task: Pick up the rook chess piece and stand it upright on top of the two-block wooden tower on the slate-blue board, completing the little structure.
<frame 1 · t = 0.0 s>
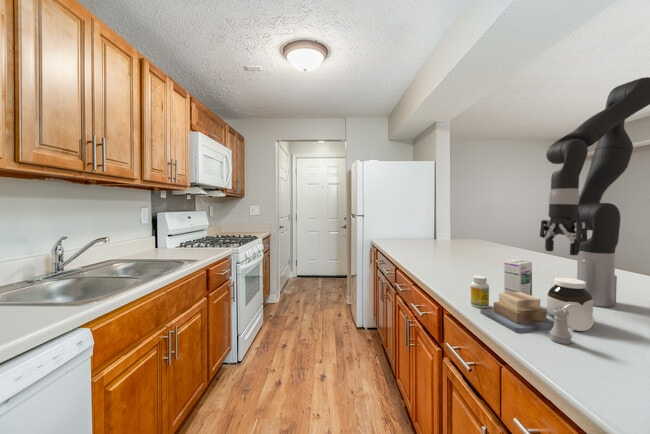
hand: (561, 253, 97), 17 cm above the countertop, tool pointing down, fingers open, 8 cm apart
syrup box: (517, 305, 99), on the countertop
spread jar: (572, 324, 83), on the countertop
supplement bottle: (479, 306, 98), on the countertop
rook chess piece: (560, 341, 73), on the countertop
block tower: (518, 320, 86), on the countertop
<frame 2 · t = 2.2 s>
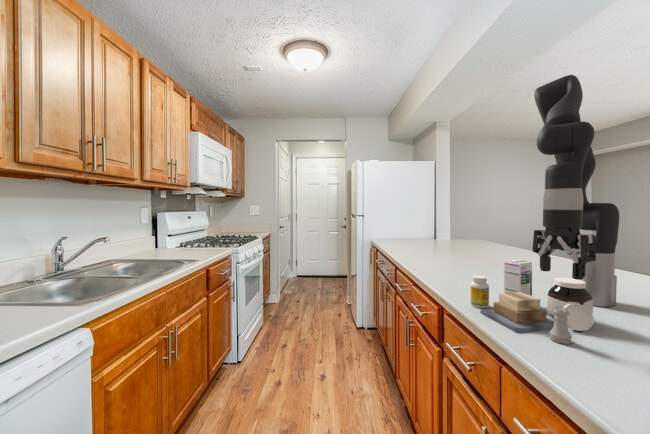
hand: (560, 274, 72), 16 cm above the countertop, tool pointing down, fingers open, 8 cm apart
nothing on the countertop moved.
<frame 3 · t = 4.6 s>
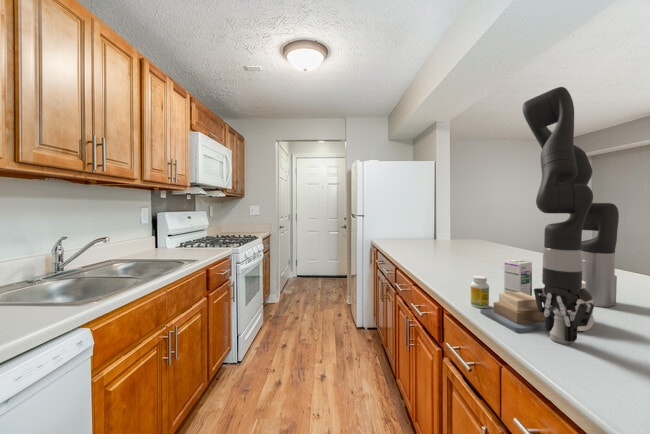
hand: (560, 336, 73), 1 cm above the countertop, tool pointing down, fingers closed on rook chess piece, 4 cm apart
rook chess piece: (560, 341, 73), on the countertop, touching gripper
everything else where it was.
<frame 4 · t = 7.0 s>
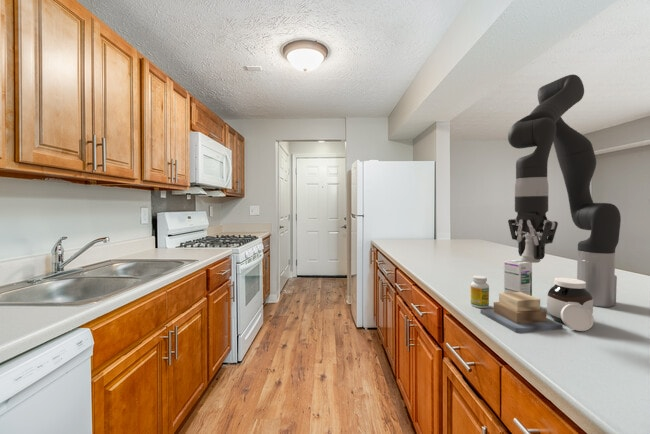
hand: (530, 257, 82), 19 cm above the countertop, tool pointing down, fingers closed on rook chess piece, 4 cm apart
rook chess piece: (530, 262, 82), point 17 cm above the countertop, touching gripper
everything else where it was.
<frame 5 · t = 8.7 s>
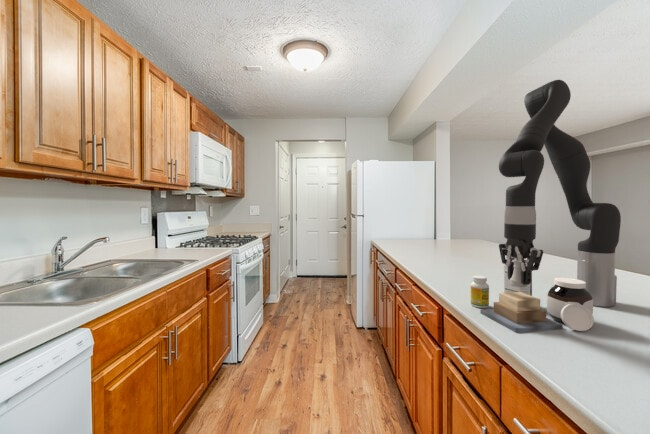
hand: (518, 281, 85), 11 cm above the countertop, tool pointing down, fingers closed on rook chess piece, 4 cm apart
rook chess piece: (518, 286, 85), point 10 cm above the countertop, touching gripper
everything else where it was.
when the fingers open (10 cm above the countertop, at t = 9.9 s): rook chess piece drops 1 cm, resting on block tower.
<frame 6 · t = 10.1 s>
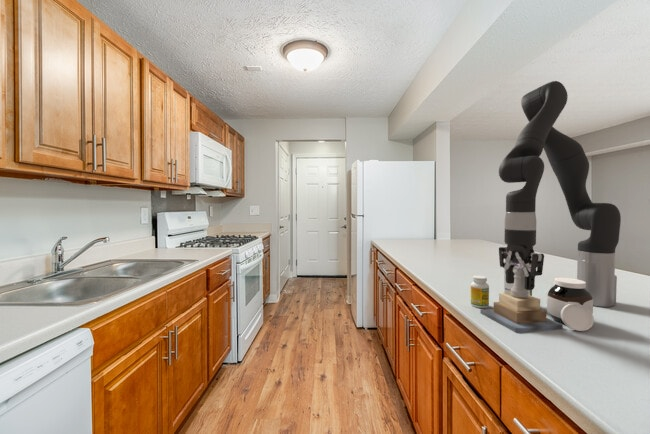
hand: (519, 286, 85), 10 cm above the countertop, tool pointing down, fingers open, 6 cm apart
rook chess piece: (519, 296, 85), point 7 cm above the countertop, touching block tower
everything else where it was.
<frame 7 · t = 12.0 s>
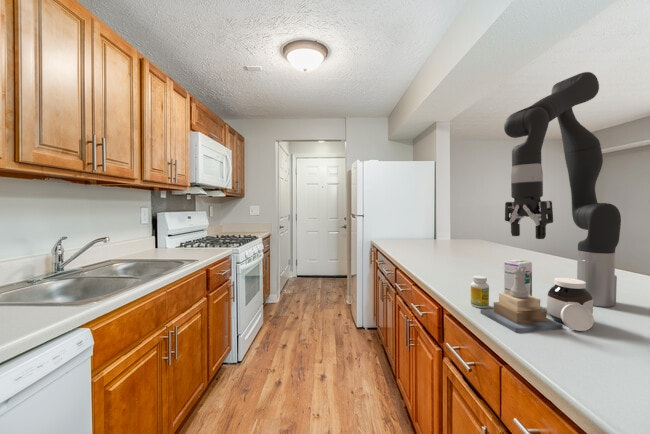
hand: (527, 237, 86), 24 cm above the countertop, tool pointing down, fingers open, 8 cm apart
nothing on the countertop moved.
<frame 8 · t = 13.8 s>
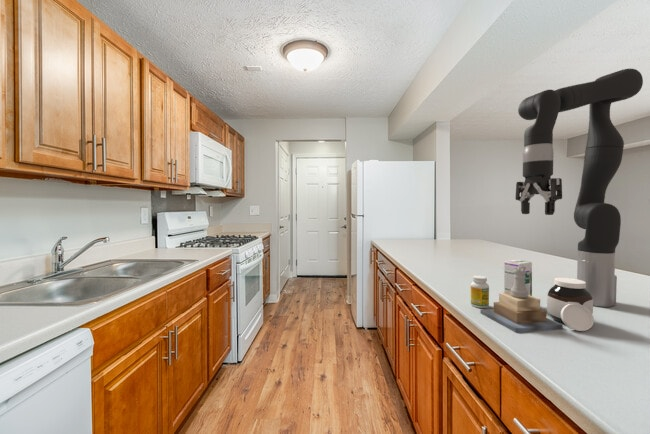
hand: (536, 214, 91), 30 cm above the countertop, tool pointing down, fingers open, 8 cm apart
nothing on the countertop moved.
at the end: rook chess piece 0.0 cm off-centre on the block tower, point 6.8 cm above the block tower's base; rook chess piece tilted 0°; the gripper is holding nothing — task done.
